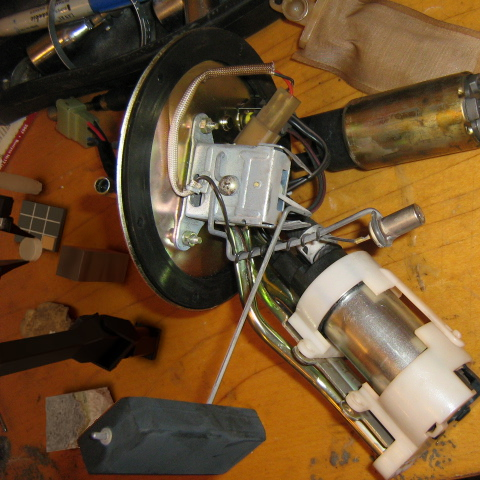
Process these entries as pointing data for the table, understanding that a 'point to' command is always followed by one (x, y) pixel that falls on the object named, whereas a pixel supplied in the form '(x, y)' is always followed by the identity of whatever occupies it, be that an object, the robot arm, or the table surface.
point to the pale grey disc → (30, 249)
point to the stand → (92, 264)
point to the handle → (19, 183)
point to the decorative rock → (45, 320)
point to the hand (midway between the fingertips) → (30, 248)
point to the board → (42, 223)
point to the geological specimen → (73, 416)
